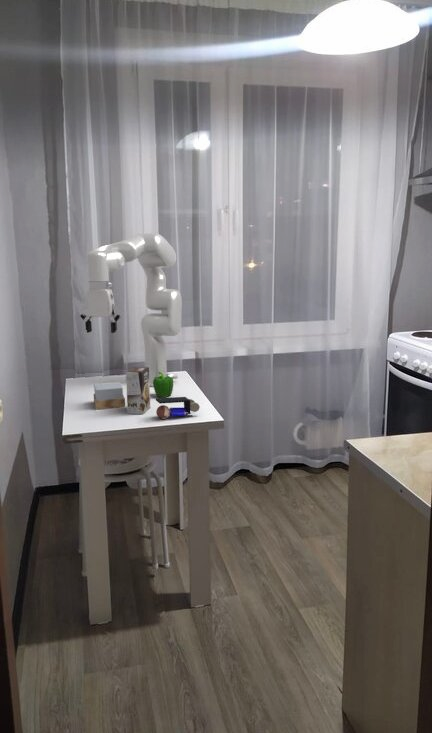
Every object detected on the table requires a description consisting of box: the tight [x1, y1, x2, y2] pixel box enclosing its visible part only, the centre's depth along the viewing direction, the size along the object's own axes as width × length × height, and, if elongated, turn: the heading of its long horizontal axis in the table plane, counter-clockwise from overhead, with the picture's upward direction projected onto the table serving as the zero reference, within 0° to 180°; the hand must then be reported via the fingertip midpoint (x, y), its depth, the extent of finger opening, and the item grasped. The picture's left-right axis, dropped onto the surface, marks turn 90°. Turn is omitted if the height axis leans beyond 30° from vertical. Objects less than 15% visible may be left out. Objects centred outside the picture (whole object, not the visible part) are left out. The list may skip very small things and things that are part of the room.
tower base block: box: [93, 393, 126, 411], centre depth 227 cm, size 11×11×4 cm
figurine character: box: [155, 396, 201, 420], centre depth 211 cm, size 7×8×15 cm
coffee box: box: [125, 366, 151, 415], centre depth 217 cm, size 9×6×16 cm
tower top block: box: [93, 381, 124, 400], centre depth 226 cm, size 10×10×4 cm
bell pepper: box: [153, 372, 174, 398], centre depth 239 cm, size 8×8×10 cm
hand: (101, 332), depth 216 cm, fingers open, 9 cm apart
